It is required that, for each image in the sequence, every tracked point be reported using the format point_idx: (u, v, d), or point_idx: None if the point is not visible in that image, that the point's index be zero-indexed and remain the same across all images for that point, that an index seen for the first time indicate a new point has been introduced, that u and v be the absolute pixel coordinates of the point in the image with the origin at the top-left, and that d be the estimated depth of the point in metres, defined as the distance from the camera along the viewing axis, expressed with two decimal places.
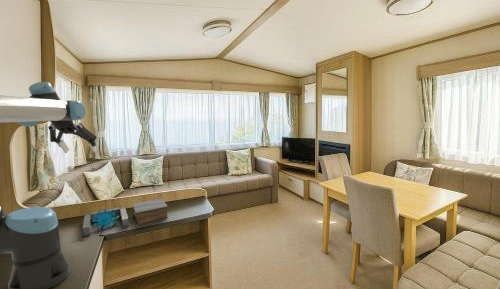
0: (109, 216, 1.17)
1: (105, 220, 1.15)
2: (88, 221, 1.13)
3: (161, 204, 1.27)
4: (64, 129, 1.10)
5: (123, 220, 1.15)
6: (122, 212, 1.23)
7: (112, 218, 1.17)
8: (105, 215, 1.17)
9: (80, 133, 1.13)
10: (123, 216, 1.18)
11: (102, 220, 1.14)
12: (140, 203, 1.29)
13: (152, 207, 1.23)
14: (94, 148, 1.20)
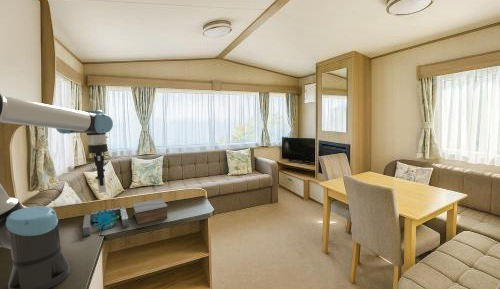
0: (109, 216, 1.17)
1: (105, 220, 1.15)
2: (88, 221, 1.13)
3: (161, 204, 1.27)
4: None
5: (123, 220, 1.15)
6: (122, 212, 1.23)
7: (112, 218, 1.17)
8: (105, 215, 1.17)
9: None
10: (123, 216, 1.18)
11: (102, 220, 1.15)
12: (140, 203, 1.29)
13: (152, 207, 1.23)
14: (101, 189, 1.08)
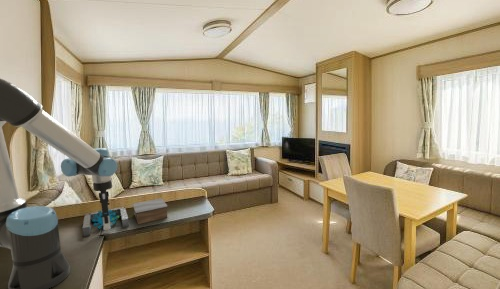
0: (109, 216, 1.17)
1: None
2: (88, 221, 1.13)
3: (161, 204, 1.27)
4: (100, 194, 1.14)
5: (123, 220, 1.15)
6: (122, 212, 1.23)
7: (112, 218, 1.17)
8: None
9: None
10: (123, 216, 1.18)
11: (102, 220, 1.15)
12: (140, 203, 1.29)
13: (152, 207, 1.23)
14: (106, 226, 1.10)
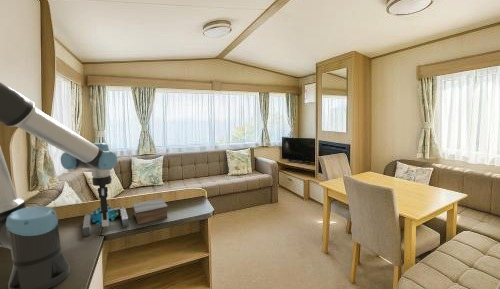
0: (108, 213, 1.16)
1: None
2: (88, 221, 1.13)
3: (161, 204, 1.27)
4: (99, 189, 1.14)
5: (123, 220, 1.15)
6: (122, 212, 1.23)
7: (111, 215, 1.16)
8: None
9: None
10: (123, 216, 1.18)
11: None
12: (140, 203, 1.29)
13: (152, 207, 1.23)
14: (104, 222, 1.12)
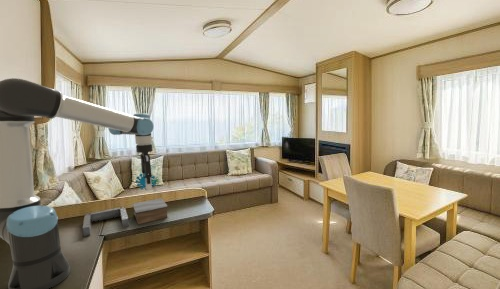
0: None
1: None
2: (88, 221, 1.13)
3: (161, 204, 1.27)
4: (142, 156, 1.23)
5: (123, 220, 1.15)
6: (122, 212, 1.23)
7: (152, 180, 1.26)
8: None
9: None
10: (123, 216, 1.18)
11: (144, 181, 1.24)
12: (140, 203, 1.29)
13: (152, 207, 1.23)
14: (148, 186, 1.21)
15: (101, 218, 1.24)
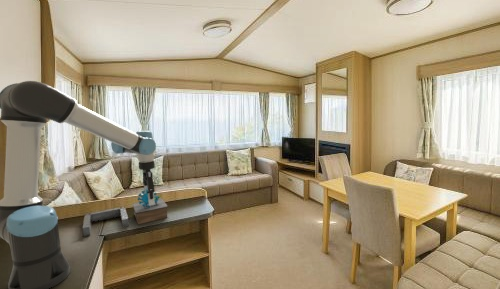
0: None
1: None
2: (88, 221, 1.13)
3: (161, 204, 1.27)
4: None
5: (123, 220, 1.15)
6: (122, 212, 1.23)
7: (154, 197, 1.27)
8: None
9: None
10: (123, 216, 1.18)
11: (146, 198, 1.25)
12: None
13: (152, 207, 1.23)
14: (151, 202, 1.20)
15: (101, 218, 1.24)
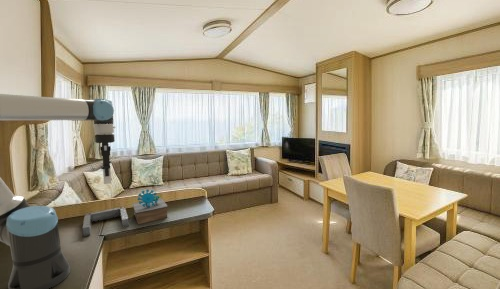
0: (151, 195, 1.27)
1: (148, 199, 1.25)
2: (88, 221, 1.13)
3: (161, 204, 1.27)
4: None
5: (123, 220, 1.15)
6: (122, 212, 1.23)
7: (154, 197, 1.27)
8: (148, 194, 1.27)
9: None
10: (123, 216, 1.18)
11: (146, 198, 1.25)
12: None
13: (152, 207, 1.23)
14: (106, 180, 1.04)
15: (101, 218, 1.24)
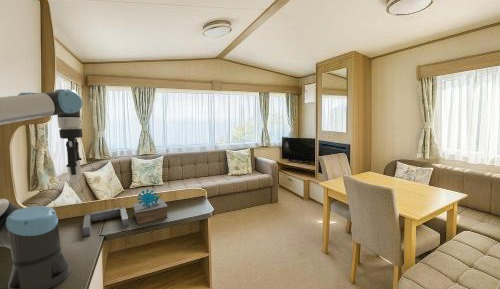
0: (151, 195, 1.27)
1: (148, 198, 1.25)
2: (88, 221, 1.13)
3: (161, 204, 1.27)
4: None
5: (123, 220, 1.15)
6: (122, 212, 1.23)
7: (154, 197, 1.28)
8: (148, 194, 1.27)
9: None
10: (123, 216, 1.18)
11: (146, 198, 1.25)
12: None
13: (152, 207, 1.23)
14: (73, 178, 0.95)
15: (101, 218, 1.24)
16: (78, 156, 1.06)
